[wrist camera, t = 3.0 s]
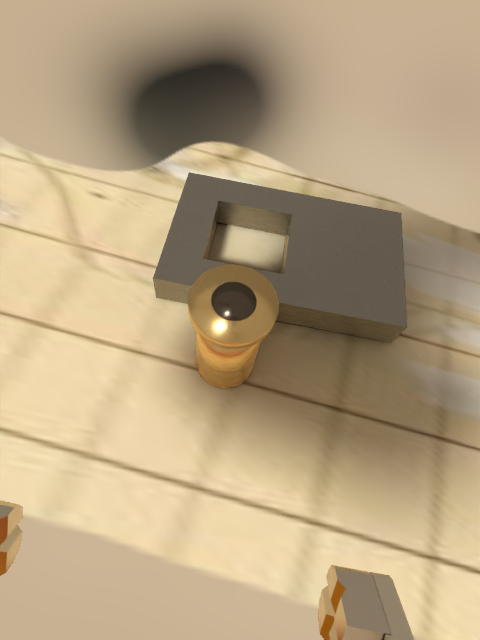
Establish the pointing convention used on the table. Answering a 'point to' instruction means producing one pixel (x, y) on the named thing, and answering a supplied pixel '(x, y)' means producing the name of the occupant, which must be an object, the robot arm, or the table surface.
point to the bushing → (230, 321)
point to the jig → (297, 254)
